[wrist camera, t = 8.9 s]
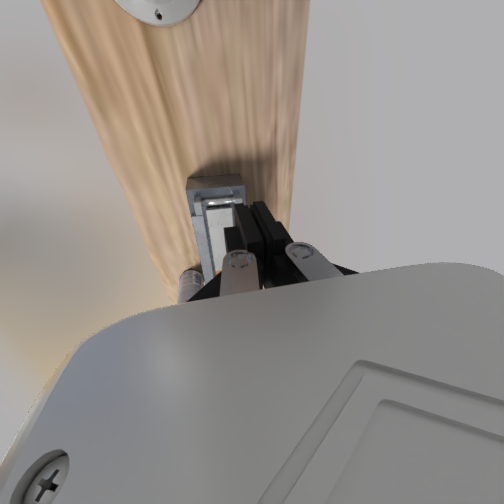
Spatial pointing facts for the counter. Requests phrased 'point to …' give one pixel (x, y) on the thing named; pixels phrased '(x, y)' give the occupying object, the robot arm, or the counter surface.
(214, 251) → the grey bar
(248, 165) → the counter surface
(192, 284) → the energy drink
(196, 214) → the grey piece
